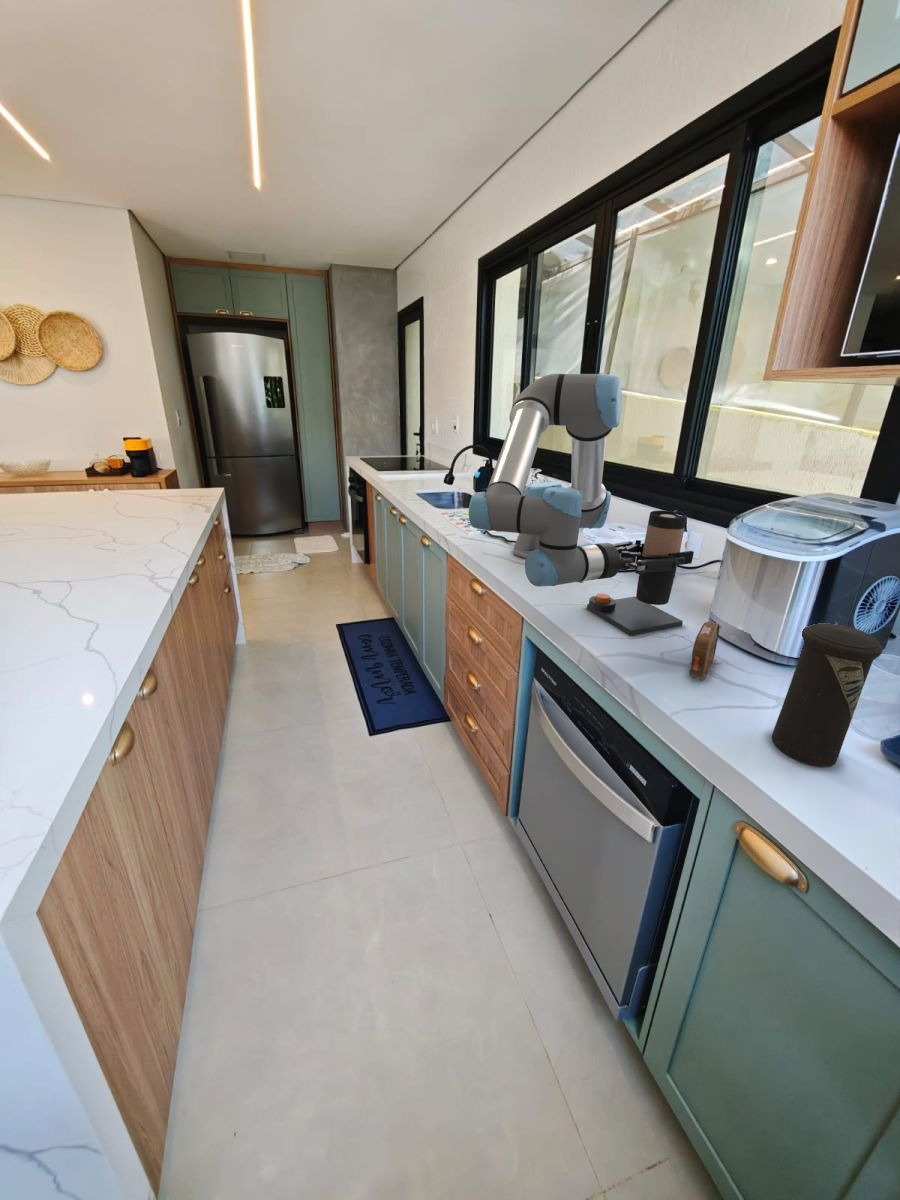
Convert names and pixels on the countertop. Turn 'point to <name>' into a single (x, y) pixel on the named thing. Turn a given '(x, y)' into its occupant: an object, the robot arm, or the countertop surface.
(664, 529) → the travel mug
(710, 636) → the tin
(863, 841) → the countertop surface
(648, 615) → the scale
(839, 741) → the container
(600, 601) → the tare button
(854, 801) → the countertop surface
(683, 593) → the countertop surface
